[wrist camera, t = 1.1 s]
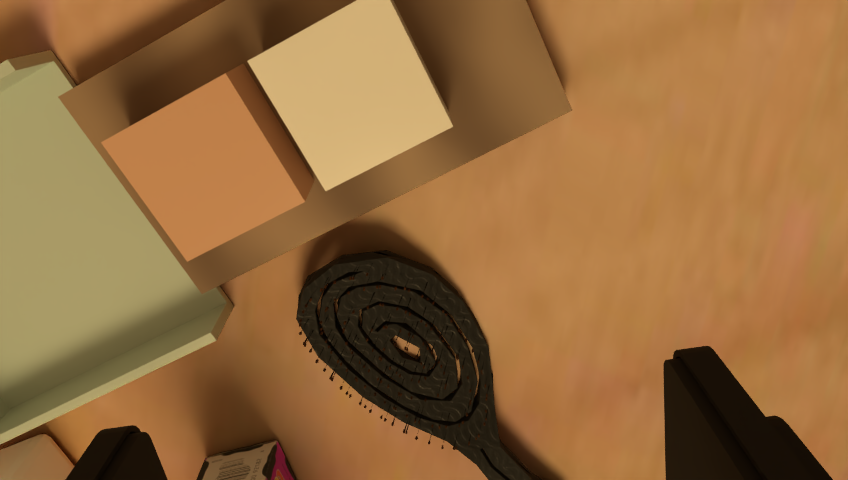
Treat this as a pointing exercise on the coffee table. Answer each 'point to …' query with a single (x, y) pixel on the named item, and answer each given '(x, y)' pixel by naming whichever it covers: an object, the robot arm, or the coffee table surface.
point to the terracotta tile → (212, 163)
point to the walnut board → (323, 210)
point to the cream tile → (352, 90)
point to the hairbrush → (416, 384)
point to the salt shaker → (34, 460)
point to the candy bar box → (248, 464)
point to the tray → (78, 264)
